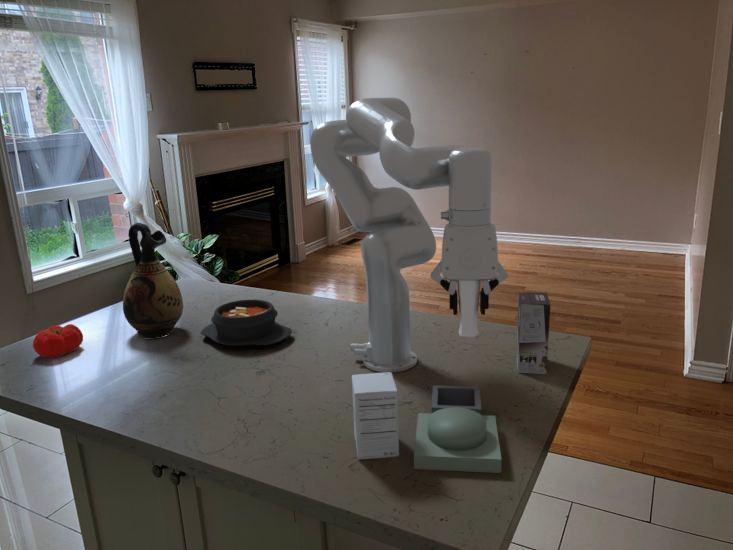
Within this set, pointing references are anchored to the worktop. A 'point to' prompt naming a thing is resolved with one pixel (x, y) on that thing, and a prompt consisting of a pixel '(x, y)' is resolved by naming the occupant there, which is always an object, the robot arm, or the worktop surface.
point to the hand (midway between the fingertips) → (468, 311)
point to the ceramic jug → (150, 288)
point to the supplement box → (375, 415)
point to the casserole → (246, 324)
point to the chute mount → (457, 433)
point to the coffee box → (532, 332)
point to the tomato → (57, 340)
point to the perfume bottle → (468, 307)
